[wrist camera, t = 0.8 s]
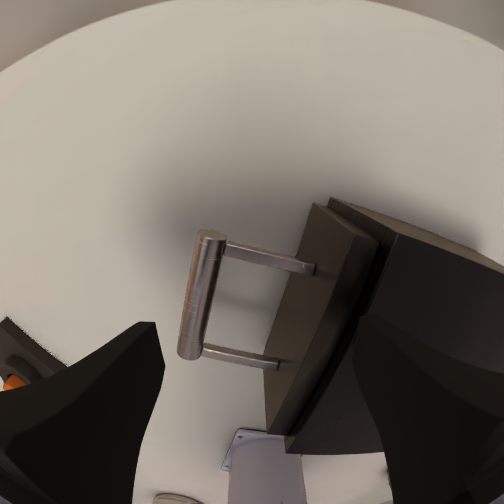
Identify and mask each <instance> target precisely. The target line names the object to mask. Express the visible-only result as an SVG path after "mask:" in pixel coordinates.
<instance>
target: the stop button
mask: <svg viewBox="0 0 504 504" xmlns="http://www.w3.org/2000/svg"><path fill="white" fill-rule="evenodd" d="M24 385H26V384H25V383H24V382H23V381H22V380H20V379H19V378H18V377H17V376H15V375H11V376H10V377H9V379H8V380H7V381H6V382H5V383H4V385H3V389H4V391H6V390H10V389H14V388H17V387H21V386H24Z"/></svg>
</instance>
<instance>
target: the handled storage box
mask: <svg viewBox="0 0 504 504" xmlns="http://www.w3.org/2000/svg"><path fill="white" fill-rule="evenodd" d="M327 207H329V208H331V209H333V210H335V211H336V212H338V213H339V214H341V215H342V216H344V217H345V218H347V219H348V220H350V221H351V222H353V223H354V224H356V225H357V226H359V227H360V228H362V229H363V230H365V231H366V232H368V233H369V234H371V235H372V236H374V237H375V238H377V239H378V240H379V241H380V245H379V246H381V250H380V253H379V255H378V258H377V261H376V264H375V266H374V269H373V271H372V274H371V276H370V279H369V281H368V284H367V286H366V289H365V291H364V294H363V296H362V298H361V301H360V303H359V305H358V308H357V310H356V312H355V314H354V317H353V319H352V321H351V323H350V325H349V328H348V330H347V332H346V334H345V336H344V338H343V340H342V342H341V344H340V346H339V348H338V351H337V353H336V355H335V357H334V358H333V360H332V362H331V364H330V366H329V368H328V370H327V372H326V374H325V376H324V378H323V379H322V381H321V383H320V385H319V387H318V389H317V390H316V392H315V394H314V396H313V397H312V399H311V401H310V403H308V402H307V404H306V406H305V407H304V409H303V411H302V412H301V414H300V416H299V417H298V419H297V421H296V422H295V424H294V426H293V427H292V429H291V431H290V432H289V434H288V435H287V436H284V444H285V453H286V454H303V455H344V454H364V453H376V452H384V450H383V446H382V442H381V438H380V435H379V433H378V430H377V427H376V425H375V423H374V420H373V418H372V415H371V413H370V411H369V409H368V406H367V404H366V402H365V399H364V397H363V395H362V392H361V390H360V388H359V385H358V383H357V379H356V376H355V372H354V368H353V365H352V356H353V351H354V346H355V340H356V335H357V329H358V323H359V317H360V316H366V315H377V316H379V317H381V318H383V319H385V320H386V321H388V322H390V323H391V324H393V325H395V326H396V327H398V328H400V329H401V330H403V331H405V332H406V333H408V334H410V335H411V336H413V337H415V338H416V339H418V340H420V341H422V342H423V343H425V344H427V345H429V346H431V347H433V348H434V349H436V350H438V351H440V352H442V353H444V354H446V355H449V356H451V357H453V358H456V359H458V360H461V361H463V362H465V363H468V364H471V365H474V366H477V367H480V368H484V369H487V370H491V371H495V372H499V373H504V266H502V265H500V264H498V263H497V262H495V261H493V260H491V259H489V258H488V257H486V256H484V255H482V254H480V253H478V252H476V251H474V250H472V249H470V248H467V247H465V246H463V245H460V244H458V243H456V242H453V241H451V240H449V239H446V238H444V237H441V236H439V235H436V234H434V233H431V232H429V231H426V230H424V229H421V228H419V227H416V226H413V225H411V224H408V223H406V222H403V221H400V220H397V219H395V218H392V217H389V216H386V215H384V214H381V213H378V212H375V211H372V210H369V209H366V208H363V207H360V206H357V205H354V204H351V203H348V202H345V201H342V200H339V199H336V198H332V197H330V199H329V203H328V206H327Z"/></svg>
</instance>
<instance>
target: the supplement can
mask: <svg viewBox="0 0 504 504" xmlns="http://www.w3.org/2000/svg"><path fill="white" fill-rule="evenodd" d="M153 504H199V503H198V502H196V501H195V500H192V499H190V498H186V497H183V496H178V495H172V494H161V495H159V496H157V497H155V498H154V500H153Z"/></svg>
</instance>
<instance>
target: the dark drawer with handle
mask: <svg viewBox="0 0 504 504" xmlns="http://www.w3.org/2000/svg"><path fill="white" fill-rule="evenodd" d="M379 245H380V241H379V240H378V239H377V238H375V237H374V236H372V235H371V234H369V233H368V232H366V231H365V230H363V229H362V228H360V227H359V226H357V225H356V224H354V223H353V222H351V221H350V220H348V219H347V218H345V217H344V216H342V215H341V214H339V213H338V212H336V211H335V210H333V209H331V208H329V207H326V206H322V205H319V204H316V203H313V204H312V207H311V211H310V214H309V217H308V221H307V224H306V227H305V230H304V234H303V237H302V240H301V243H300V247H299V250H298V253H297V256H296V257H293V256H289V255H285V254H281V253H277V252H272V251H268V250H264V249H260V248H256V247H252V246H248V245H244V244H240V243H236V242H232V241H227V236H226V235H224V234H222V233H220V232H217V231H214V230H207V229H203V230H199V231H198V232H197V237H196V242H195V247H194V252H193V257H192V262H191V267H190V272H189V278H188V283H187V289H186V294H185V300H184V306H183V312H182V318H181V324H180V331H179V337H178V344H177V353H178V355H179V356H180V357H181V358H183V359H186V360H196V359H198V358H199V357H200V356H204V357H208V358H212V359H217V360H221V361H226V362H231V363H236V364H241V365H246V366H251V367H256V368H262V369H263V374H264V393H265V412H266V432H267V434H270V435H280V436H287V435H288V434H289V432H290V431H291V429H292V427H293V426H294V424H295V422H296V421H297V419H298V417H299V416H300V414H301V412H302V411H303V409H304V407H305V406H306V404H307V402H308V403H310V401H311V399H312V397H313V396H314V394H315V392H316V390H317V389H318V387H319V385H320V383H321V381H322V379H323V378H324V376H325V374H326V372H327V370H328V368H329V366H330V364H331V362H332V360H333V358H334V357H335V355H336V353H337V351H338V348H339V346H340V344H341V342H342V340H343V338H344V336H345V334H346V332H347V330H348V328H349V325H350V323H351V321H352V319H353V317H354V314H355V312H356V310H357V308H358V305H359V303H360V301H361V298H362V296H363V294H364V291H365V289H366V286H367V284H368V281H369V279H370V276H371V274H372V271H373V269H374V266H375V264H376V261H377V258H378V255H379V253H380V250H381V246H379ZM223 255H225V256H228V257H232V258H236V259H241V260H245V261H249V262H253V263H257V264H261V265H265V266H270V267H274V268H278V269H282V270H286V271H291V275H290V278H289V281H288V284H287V287H286V290H285V293H284V296H283V299H282V302H281V305H280V308H279V310H278V313H277V316H276V319H275V322H274V325H273V328H272V331H271V333H270V336H269V339H268V342H267V345H266V347H265V350H264V353H263V355H260V354H255V353H250V352H245V351H240V350H235V349H231V348H226V347H222V346H217V345H213V344H208V343H204V339H205V334H206V330H207V325H208V320H209V316H210V311H211V307H212V302H213V298H214V294H215V289H216V285H217V280H218V276H219V272H220V268H221V263H222V259H223ZM203 343H204V344H203Z"/></svg>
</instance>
